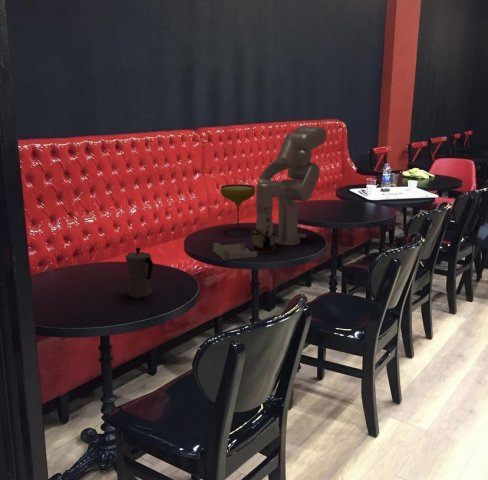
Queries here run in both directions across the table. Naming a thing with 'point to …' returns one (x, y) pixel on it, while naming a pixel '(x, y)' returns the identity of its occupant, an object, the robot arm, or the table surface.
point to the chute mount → (233, 251)
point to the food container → (258, 241)
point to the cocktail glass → (237, 200)
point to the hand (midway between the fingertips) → (263, 246)
